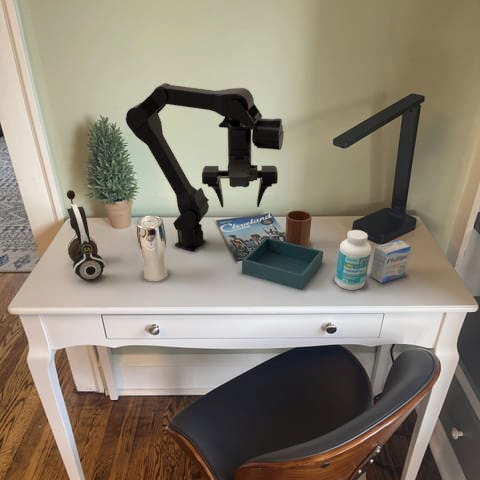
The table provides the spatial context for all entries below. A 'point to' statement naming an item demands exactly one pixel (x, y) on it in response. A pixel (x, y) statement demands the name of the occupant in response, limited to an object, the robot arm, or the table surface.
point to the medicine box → (390, 261)
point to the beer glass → (152, 246)
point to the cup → (298, 227)
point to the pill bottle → (353, 260)
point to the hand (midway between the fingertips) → (240, 206)
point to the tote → (282, 263)
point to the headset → (83, 245)
